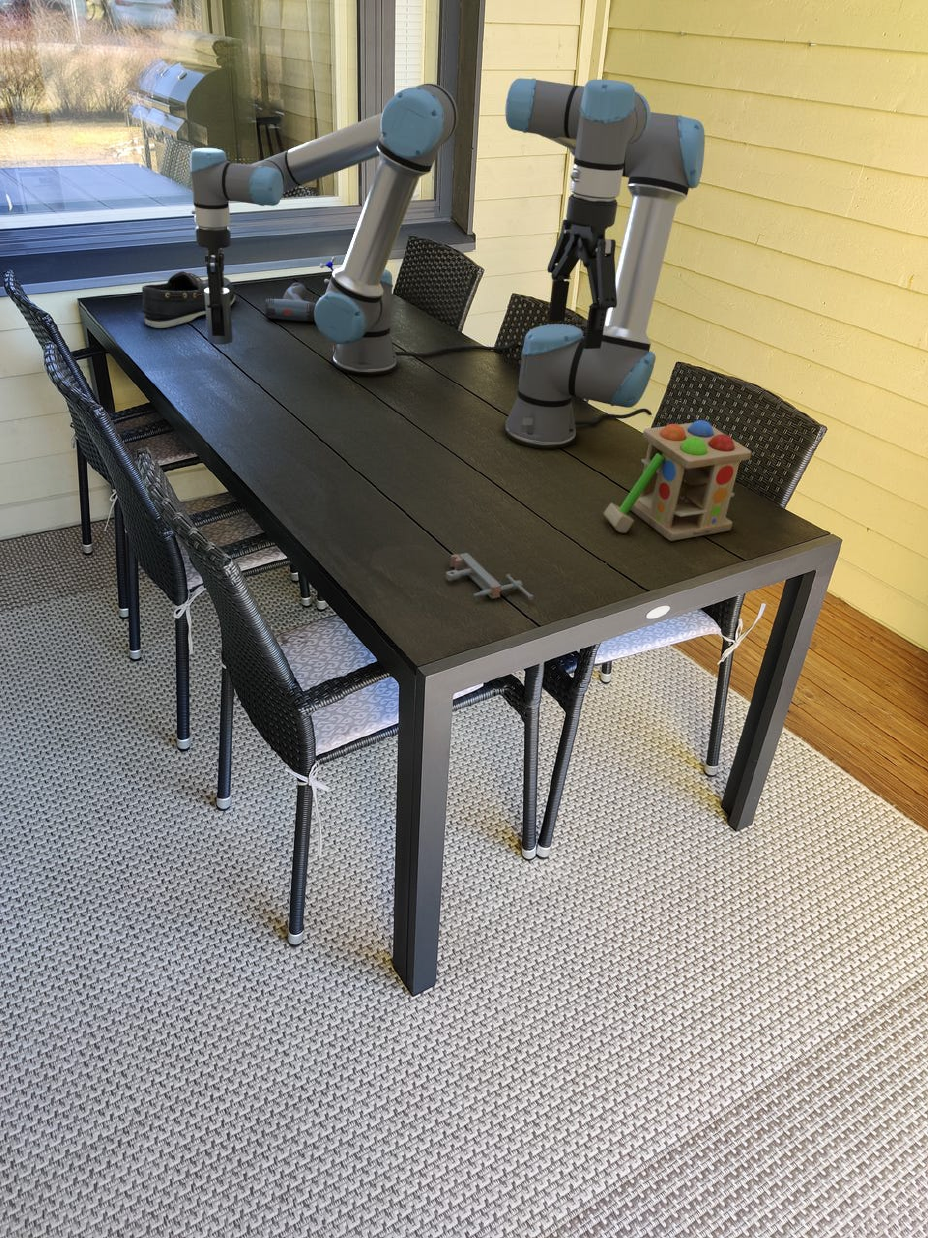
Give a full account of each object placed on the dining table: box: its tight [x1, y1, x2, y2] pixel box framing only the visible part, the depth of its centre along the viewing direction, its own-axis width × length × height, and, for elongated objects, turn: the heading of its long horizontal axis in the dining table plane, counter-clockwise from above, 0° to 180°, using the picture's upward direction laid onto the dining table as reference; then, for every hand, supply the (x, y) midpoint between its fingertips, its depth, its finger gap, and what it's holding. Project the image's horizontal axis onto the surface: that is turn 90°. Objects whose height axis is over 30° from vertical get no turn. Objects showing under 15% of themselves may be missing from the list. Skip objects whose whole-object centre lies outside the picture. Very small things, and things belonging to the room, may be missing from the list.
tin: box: [204, 287, 233, 346], centre depth 226 cm, size 6×6×12 cm
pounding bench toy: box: [603, 419, 753, 542], centre depth 178 cm, size 23×14×18 cm, turn 116°
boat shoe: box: [141, 270, 236, 329], centre depth 257 cm, size 13×33×10 cm, turn 147°
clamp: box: [445, 552, 535, 601], centre depth 158 cm, size 15×2×10 cm
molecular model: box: [319, 256, 336, 284], centre depth 287 cm, size 12×10×10 cm
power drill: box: [264, 282, 317, 322], centre depth 265 cm, size 5×19×20 cm
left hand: (219, 330), depth 228 cm, fingers closed on tin, 6 cm apart
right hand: (573, 333), depth 161 cm, fingers open, 13 cm apart
